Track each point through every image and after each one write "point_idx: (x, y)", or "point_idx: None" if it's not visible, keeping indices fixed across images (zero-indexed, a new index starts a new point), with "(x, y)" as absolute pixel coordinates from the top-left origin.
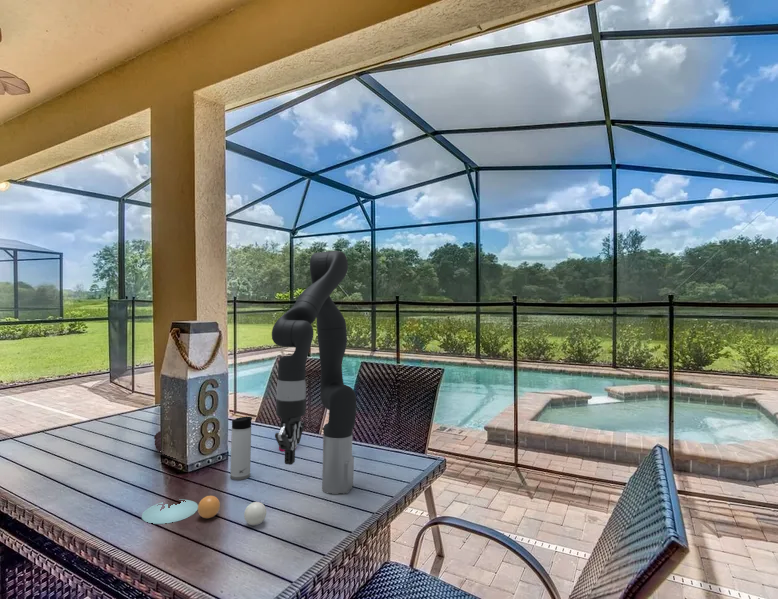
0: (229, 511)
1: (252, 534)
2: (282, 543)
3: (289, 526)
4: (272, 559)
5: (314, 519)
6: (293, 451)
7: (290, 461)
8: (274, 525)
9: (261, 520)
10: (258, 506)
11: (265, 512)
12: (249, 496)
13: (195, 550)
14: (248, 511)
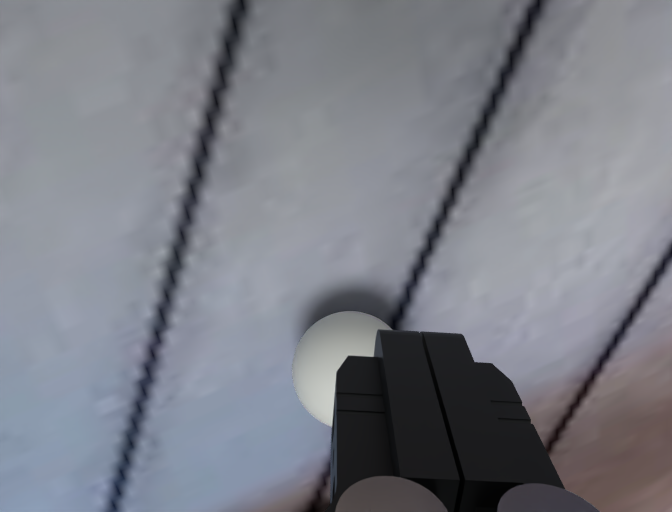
0: (261, 486)
1: (443, 309)
2: (511, 133)
3: (334, 165)
4: (661, 123)
5: (219, 47)
6: (476, 455)
7: (486, 374)
8: (340, 246)
9: (373, 316)
10: None
11: (347, 323)
12: (91, 475)
13: (591, 456)
14: None
